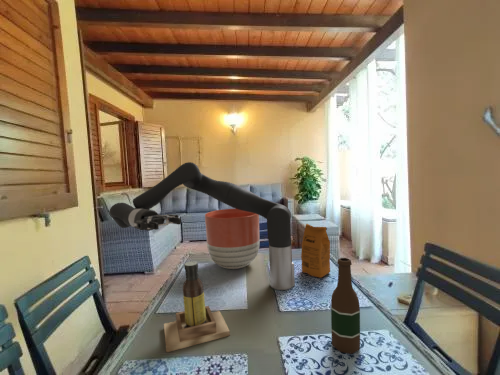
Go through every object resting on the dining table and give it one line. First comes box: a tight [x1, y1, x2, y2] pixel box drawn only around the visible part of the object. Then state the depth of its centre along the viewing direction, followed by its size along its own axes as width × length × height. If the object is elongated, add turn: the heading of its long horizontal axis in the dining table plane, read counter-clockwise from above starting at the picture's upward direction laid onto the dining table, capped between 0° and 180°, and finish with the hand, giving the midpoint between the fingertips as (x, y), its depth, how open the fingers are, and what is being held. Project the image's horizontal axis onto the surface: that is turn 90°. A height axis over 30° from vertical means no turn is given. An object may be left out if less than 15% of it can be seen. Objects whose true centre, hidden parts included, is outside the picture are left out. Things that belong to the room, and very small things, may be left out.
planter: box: [204, 208, 260, 270], centre depth 134 cm, size 27×27×27 cm
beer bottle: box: [330, 257, 361, 355], centre depth 73 cm, size 8×8×24 cm
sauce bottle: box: [182, 260, 206, 328], centre depth 81 cm, size 6×6×20 cm
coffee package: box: [300, 223, 331, 279], centre depth 122 cm, size 10×12×22 cm
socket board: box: [163, 305, 231, 354], centre depth 82 cm, size 18×12×4 cm, turn 110°
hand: (169, 223), depth 88 cm, fingers open, 8 cm apart
